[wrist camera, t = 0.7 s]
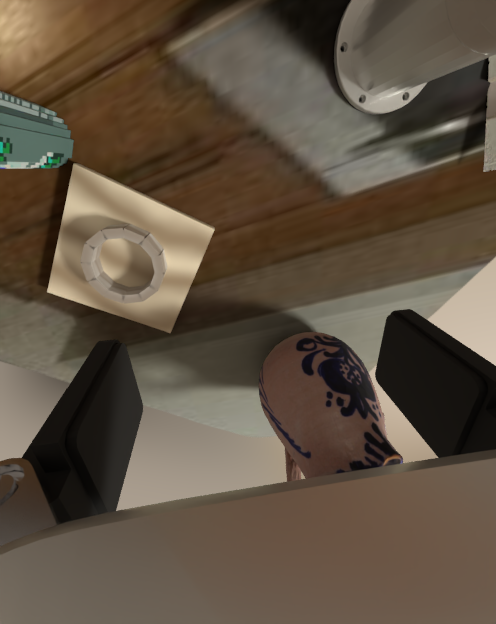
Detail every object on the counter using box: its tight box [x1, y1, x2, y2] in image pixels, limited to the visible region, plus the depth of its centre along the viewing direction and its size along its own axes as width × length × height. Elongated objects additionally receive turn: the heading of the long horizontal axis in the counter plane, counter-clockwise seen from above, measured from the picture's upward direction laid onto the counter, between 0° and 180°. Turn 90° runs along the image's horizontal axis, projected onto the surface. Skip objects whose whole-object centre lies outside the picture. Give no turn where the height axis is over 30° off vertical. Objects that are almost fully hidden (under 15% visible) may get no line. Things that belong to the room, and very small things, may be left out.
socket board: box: [47, 163, 215, 333], centre depth 38 cm, size 18×18×4 cm
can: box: [0, 91, 74, 169], centre depth 26 cm, size 6×6×15 cm
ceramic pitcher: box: [259, 332, 403, 482], centre depth 42 cm, size 18×21×25 cm
